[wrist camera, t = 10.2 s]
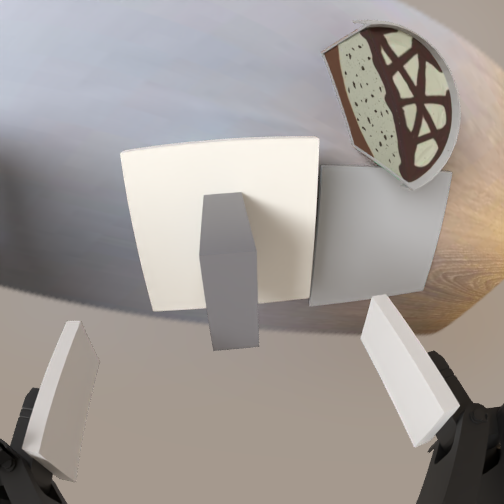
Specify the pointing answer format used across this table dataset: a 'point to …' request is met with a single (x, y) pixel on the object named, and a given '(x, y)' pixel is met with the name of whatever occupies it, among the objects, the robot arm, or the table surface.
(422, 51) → the food container
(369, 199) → the mat
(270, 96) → the table surface
